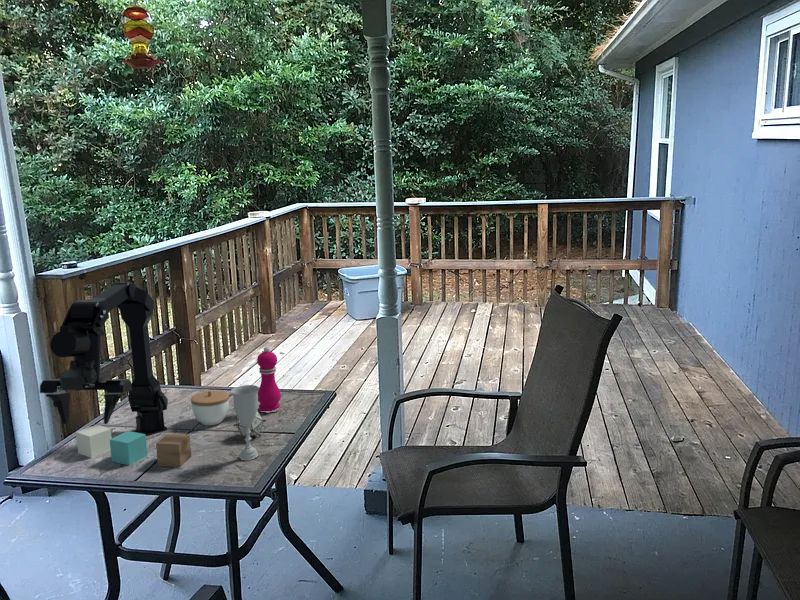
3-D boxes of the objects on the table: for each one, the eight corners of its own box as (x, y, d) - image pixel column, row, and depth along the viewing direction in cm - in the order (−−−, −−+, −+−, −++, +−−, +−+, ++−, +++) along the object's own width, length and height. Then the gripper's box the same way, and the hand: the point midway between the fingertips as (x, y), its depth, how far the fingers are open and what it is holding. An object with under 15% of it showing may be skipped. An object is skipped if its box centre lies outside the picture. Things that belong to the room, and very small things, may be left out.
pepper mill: (258, 415, 198) (255, 350, 194) (256, 407, 205) (253, 344, 201) (282, 412, 200) (279, 348, 196) (280, 404, 207) (277, 343, 203)
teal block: (129, 452, 172) (127, 431, 171) (147, 456, 170) (145, 434, 169) (111, 461, 167) (109, 439, 166) (129, 465, 165) (127, 443, 163)
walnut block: (169, 455, 170) (167, 433, 169) (191, 456, 169) (189, 434, 168) (157, 465, 164) (155, 443, 163) (180, 467, 163) (178, 444, 162)
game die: (254, 446, 185) (269, 413, 188) (259, 446, 177) (274, 411, 180) (224, 433, 182) (240, 400, 186) (228, 433, 175) (244, 398, 178)
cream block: (99, 445, 177) (97, 424, 176) (112, 450, 174) (110, 428, 173) (78, 453, 172) (75, 431, 171) (91, 458, 169) (89, 436, 168)
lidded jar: (187, 420, 194) (184, 390, 192) (221, 412, 201) (220, 382, 199) (200, 431, 186) (198, 399, 184) (236, 422, 192) (234, 391, 190)
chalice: (246, 449, 173) (242, 383, 170) (268, 453, 171) (264, 386, 168) (229, 460, 167) (225, 392, 163) (252, 464, 164) (248, 395, 161)
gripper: (27, 357, 144) (25, 429, 143) (113, 357, 144) (112, 429, 143) (53, 355, 155) (51, 422, 154) (133, 355, 155) (131, 421, 154)
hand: (85, 423), depth 151 cm, fingers open, 9 cm apart
